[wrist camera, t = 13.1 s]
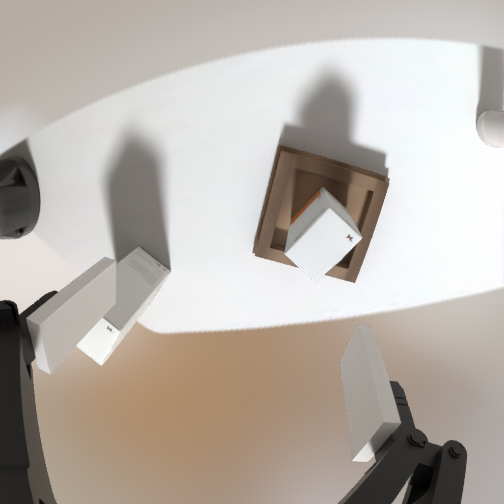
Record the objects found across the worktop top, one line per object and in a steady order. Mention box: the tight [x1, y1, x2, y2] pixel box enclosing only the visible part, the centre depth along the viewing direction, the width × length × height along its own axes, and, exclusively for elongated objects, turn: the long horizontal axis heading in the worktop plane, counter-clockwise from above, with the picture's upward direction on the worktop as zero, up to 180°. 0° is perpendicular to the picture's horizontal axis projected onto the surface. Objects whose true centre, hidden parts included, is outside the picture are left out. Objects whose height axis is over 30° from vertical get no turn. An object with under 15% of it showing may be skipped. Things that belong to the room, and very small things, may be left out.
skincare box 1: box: [76, 247, 171, 365], centre depth 39 cm, size 8×7×16 cm
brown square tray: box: [252, 145, 389, 283], centre depth 38 cm, size 14×14×3 cm
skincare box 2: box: [284, 187, 362, 282], centre depth 33 cm, size 6×4×12 cm
